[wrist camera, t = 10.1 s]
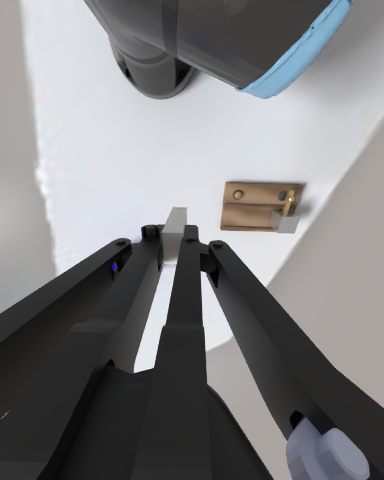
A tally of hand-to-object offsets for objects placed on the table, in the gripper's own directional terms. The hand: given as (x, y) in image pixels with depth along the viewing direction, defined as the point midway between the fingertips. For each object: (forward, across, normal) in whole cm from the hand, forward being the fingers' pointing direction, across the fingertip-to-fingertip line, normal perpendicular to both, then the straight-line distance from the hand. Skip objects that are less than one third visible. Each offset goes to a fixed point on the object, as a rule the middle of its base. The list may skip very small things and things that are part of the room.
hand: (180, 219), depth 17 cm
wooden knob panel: (+24, +18, -5) cm, 31 cm away
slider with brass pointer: (+23, +23, -4) cm, 33 cm away
